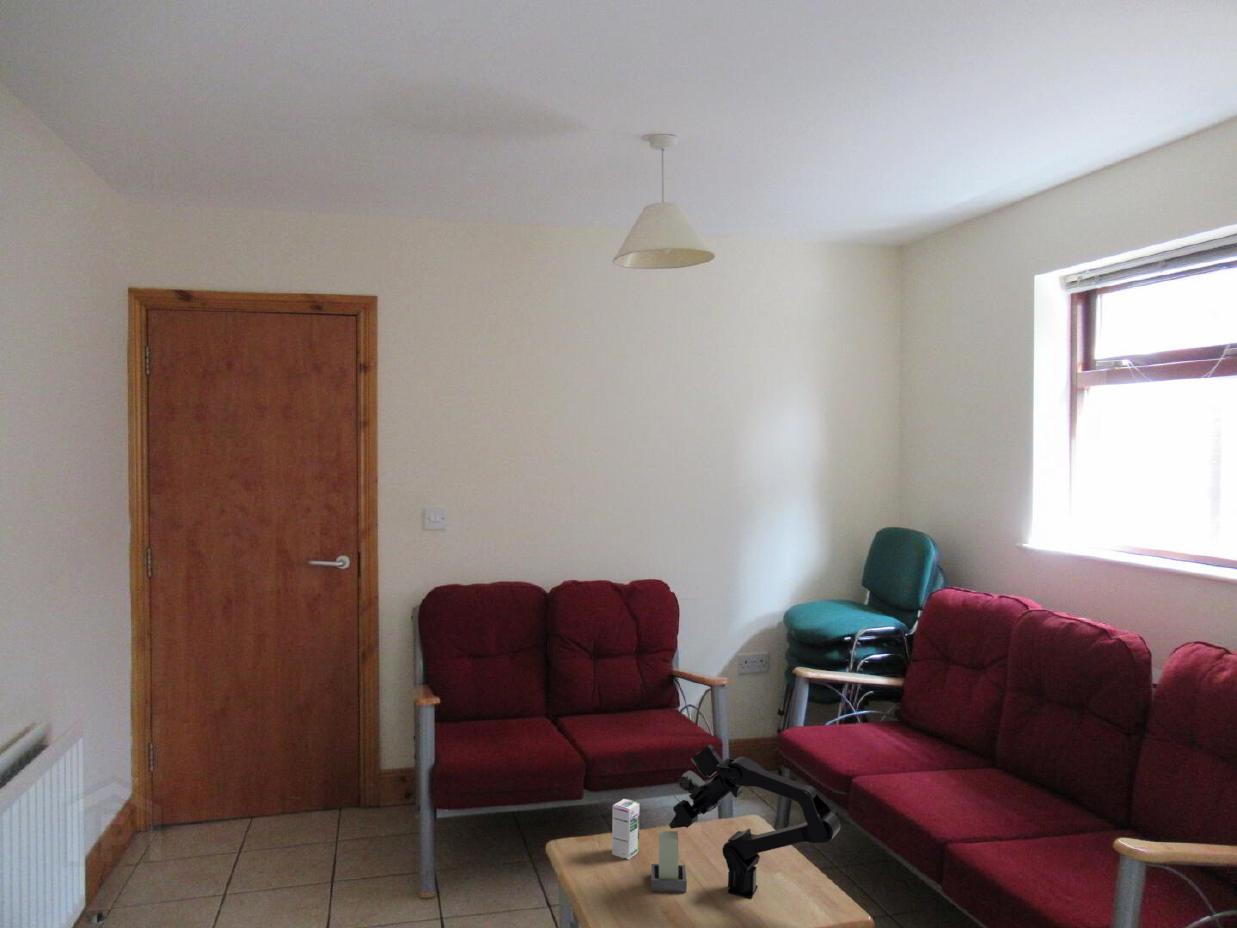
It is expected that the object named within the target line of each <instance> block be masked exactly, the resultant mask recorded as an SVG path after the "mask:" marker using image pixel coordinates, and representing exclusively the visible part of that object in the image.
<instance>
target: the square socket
mask: <svg viewBox="0 0 1237 928" xmlns="http://www.w3.org/2000/svg"><path fill="white" fill-rule="evenodd" d="M656 877H659V863H651V864H650V882H651V883H650V884H651V885H650V886H651V887H650V888H651V890H652V891H651V892H654V891H662V892H661V893H682V892H685V894H686V893H687V890H688V889H687V887H688V886H687V873H686V865H685V864H678V879H659V878H656ZM679 878H681V879H679Z"/></svg>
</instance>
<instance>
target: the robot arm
mask: <svg viewBox="0 0 1237 928" xmlns="http://www.w3.org/2000/svg"><path fill="white" fill-rule="evenodd" d="M690 760H691V762H692V763H693V764H694V765H695V766H696V768H697V770H698V771H699V772H700V773H701V775H702V776H703V777H704V778H706V777H708V778H711V777H712V776H713V778H711V779H710V780H708V781H707V782H705V781H704V780H703V778H701V777H700V776H699V775H697V773H695V772H694V771H692V770H686V771H685V772H684V773H682V775H681V777H680V778H679V779H678V786H679V787H680V788H681V789H682V790H683V791H685V792H688V793H690V794H689V795H688V797H689V799H690V800H691V801H692V804H691V803H690V802H689V801H688V800H686V799H682V800H681V801H679V802H678V803H676V804H675V805H674V806H673V807H672V808H673V809H672V810H673V812H674V813H675V815H674V817H672V820H671V821H670V822H669V824H668V826H669V828H670V829H671V830H672V829H678V828H687V829H688V828H690V826H692V825H693V824H694V823H696V822H698V820H699V819H698V817H699V815H705V814H706V813H708V812H709V813H710V812H711V811H713V810H714V809H715V808H717V807H719V806H720V805H722V803H723V800H724V799H725V798H727V797H728V795H730V794H732V795H733V797H734V798H738V797H739V796H741V795H742V794H743V789H742V787H745V788H747V787H749V788H751V787H754V788H759V789H762V790H764V791H767V792H769V793H773V794H774V795H778V796H780V797H783V798H785V799H788V800H790V801H793V802H796V803H798V804H799V806H800V807H801V810H802V813H803V816H804V819H805V822H802V823H798V824H795V825H794V824H793V825H791V826H786V827H783V828H778V829H776V830H771V831H768V832H763V833H759V834H754V833H752V831H751V828H747V829H745V830H743V831H740V830H738V831H736V832H735V833H734V834H732V835H731V837H729V838H728V839H727V841H726V843H724V844H723V846H722V856H723V857H724V859H725V862H726V865H727V869H728V872H727V873H728V876H727V887H728V889H727V893H728V894H730V895H731V894H732V895H736V896H740V897H744V898H750V899H753V897H754V895H755V893H756V892H757V890H758V887H759V886H758V885H757V866H756V865H757V864H759V861H760V860H761V856H760V854H759V853H764V852H768V851H771V850H776V849H781V848H785V847H788V846H792V845H796V844H800V843H808V844H814V845H817V844H818V845H819V844H827V843H829V842H831V841H832V840H833V838H834V837H836V835H837V834H838V833H839V832H840V829H841V821H840V818H839V817H838V816H837V815H836V814H835V813H834V812H833V810H832V808H831V807H830V806H829V804H828V803H827V801H825V800H824V799H823V798H822V796H820V795H819V793H818V791H817V790H816V788H814V787H813V785H808V784H804V783H801V782H798V781H796V780H793V779H790V778H788V777H785V776H782V775H779V774H777V773H773V772H770V770H769V771H768V770H766V769H765V768H763V767H762V766H761V765H760V764H759V763H758V762H755V761H754V760H752V759H750V758H749V757H747V756H740V757H737V758H725V759H723V760H722V758H721V757H720V755H719V754H718V753H717V751H716V750H715V748H714V747H713V745H712V744H709V745H707V746H706V747H704V748H703V749H702V750H701V751H698V752H697V753H696V754H694V755H693V756H692V757H691V758H690ZM716 773H717V774H716ZM715 774H716V775H715ZM714 775H715V776H714Z"/></svg>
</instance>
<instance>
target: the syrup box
mask: <svg viewBox="0 0 1237 928" xmlns="http://www.w3.org/2000/svg"><path fill="white" fill-rule="evenodd" d="M611 826H612V833H611V834H612V839H611V842H612V843H611V849H612V850H611V855H613V856H615V857H618V856H619V857H618V858H621V859H624V858H626V859H625V860H630V859H631V858H633V857H634V856H636V855H637V854H638V852H639V853H640V802H638V801H635V800H632V799H627V798H623V799H622V800H620V801H618V802H616V803H614V804H613V805H612V825H611Z"/></svg>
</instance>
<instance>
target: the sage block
mask: <svg viewBox="0 0 1237 928" xmlns="http://www.w3.org/2000/svg"><path fill="white" fill-rule="evenodd" d="M658 864H659V876H658V879H679V877H678V865H679V832H678V830H675V831H674V830H658Z"/></svg>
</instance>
